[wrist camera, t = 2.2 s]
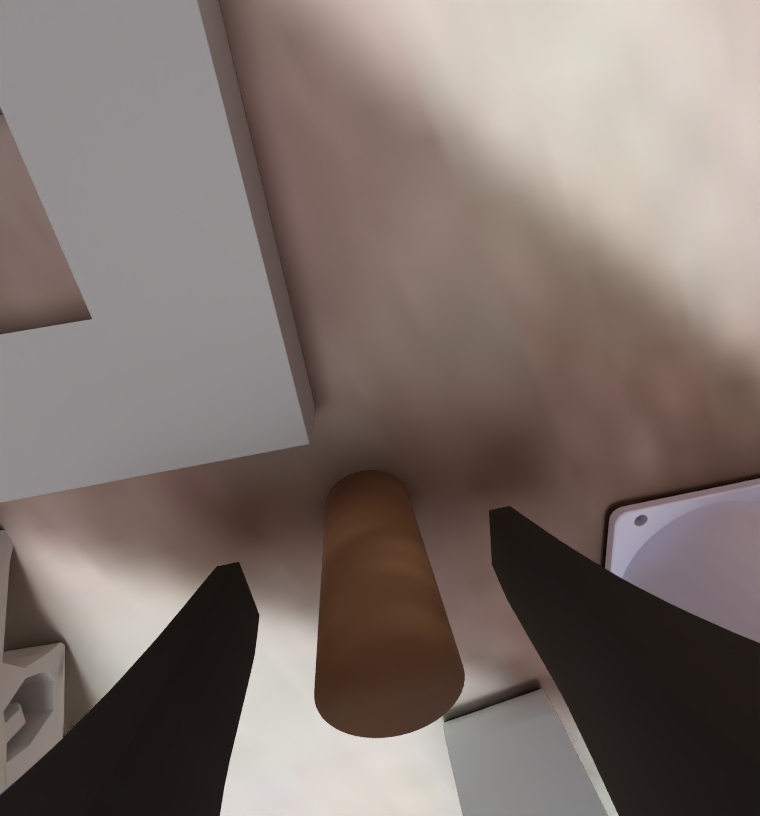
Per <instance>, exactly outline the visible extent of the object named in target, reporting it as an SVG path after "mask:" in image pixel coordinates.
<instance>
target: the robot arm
mask: <svg viewBox="0 0 760 816" xmlns="http://www.w3.org/2000/svg"><path fill="white" fill-rule="evenodd" d="M489 517H490V535H491V553H492V566H493V568H494V570H495V573H496V575H497V577H498V580H499V582H500V584H501V587H502V589H503V591H504V593H505V595H506V598H507V600H508V602H509V603H510V605H511V607H512V609H513V611H514V612H515V614H516V616H517V618H518V619H519V621H520V623H521V625H522V626H523V628H524V630H525V631H526V633H527V635H528V637H529V638H530V640H531V642H532V644H533V645H534V647H535V649H536V650H537V652H538V654H539V656H540V657H541V659H542V661H543V663H544V664H545V666H546V668H547V670H548V671H549V673H550V675H551V676H552V678H553V680H554V682H555V683H556V685H557V687H558V689H559V691H560V693H561V695H562V696H563V698H564V700H565V702H566V704H567V706H568V708H569V710H570V712H571V714H572V716H573V718H574V721H575V723H576V725H577V727H578V729H579V731H580V733H581V735H582V737H583V739H584V742H585V744H586V746H587V748H588V750H589V752H590V754H591V756H592V758H593V761H594V763H595V765H596V767H597V769H598V771H599V774H600V776H601V778H602V780H603V782H604V784H605V787H606V789H607V791H608V793H609V795H610V797H611V800H612V802H613V804H614V806H615V808H616V811H617V813H618V815H619V816H760V478H759V479H754V480H749V481H744V482H740V483H735V484H730V485H725V486H720V487H715V488H710V489H706V490H701V491H696V492H691V493H686V494H681V495H676V496H672V497H667V498H662V499H657V500H652V501H647V502H643V503H638V504H633V505H628V506H623V507H620V508H617V509H616V510H615V511H613V512H612V514H611V515H610V519H609V528H608V539H607V550H606V562H605V568H603V567H602V566H600V565H598V564H596V563H595V562H593V561H591V560H590V559H588V558H587V557H585V556H583V555H582V554H580V553H578V552H577V551H575V550H574V549H572V548H571V547H569V546H568V545H566V544H564V543H563V542H561V541H560V540H558V539H557V538H555V537H554V536H552V535H551V534H549V533H548V532H546V531H545V530H544V529H542V528H541V527H539V526H538V525H536V524H535V523H533V522H532V521H531V520H529V519H528V518H526V517H525V516H523V515H522V514H520V513H519V512H518V511H516V510H515V509H513V508H512V507H510V506H507V507H502V508H498V509H493V510H489ZM258 623H259V613H258V610H257V607H256V605H255V602H254V600H253V597H252V594H251V592H250V589H249V587H248V584H247V581H246V579H245V576H244V574H243V571H242V568H241V566H240V563H239V562H236V563H231V564H227V565H222V566H217V567H216V568H215V569H214V571H213V572H212V573H211V574H210V575H209V576H208V578H207V579H206V580H205V581H204V582H203V584H202V585H201V586H200V587H199V588H198V590H197V591H196V592H195V593H194V595H193V596H192V597H191V598H190V599H189V601H188V602H187V603H186V604H185V605H184V607H183V608H182V609H181V610H180V611H179V613H178V614H177V615H176V616H175V617H174V619H173V620H172V621H171V622H170V623H169V625H168V626H167V627H166V628H165V629H164V631H163V632H162V633H161V634H160V635H159V637H158V638H157V639H156V640H155V641H154V642H153V643H152V644H151V646H150V647H149V648H148V649H147V650H146V651H145V652H144V653H143V655H142V656H141V657H140V658H139V659H138V660H137V661H136V662H135V663H134V665H133V666H132V667H131V668H130V669H129V670H128V671H127V672H126V673H125V675H124V676H123V677H122V678H121V679H120V680H119V681H118V682H117V683H116V684H115V686H114V687H113V688H112V689H111V690H110V691H109V692H108V693H107V694H106V695H105V696H104V697H103V698H102V699H101V700H100V701H99V702H98V703H97V704H96V705H95V706H94V707H93V708H92V709H91V710H90V711H89V712H88V713H87V714H86V715H85V716H84V717H83V718H82V719H81V720H80V721H79V722H78V723H77V724H76V725H75V726H74V727H73V728H72V729H71V730H70V731H69V732H68V733H67V734H66V735H65V736H64V737H63V738H62V739H61V740H60V741H59V742H58V743H57V744H56V745H55V746H54V747H53V748H52V749H51V750H50V751H48V752H47V753H46V754H45V755H44V756H43V757H42V758H41V759H40V760H39V761H38V762H36V763H35V764H34V765H33V766H32V767H31V768H30V769H29V770H28V771H27V772H26V773H24V774H23V775H22V776H21V777H20V778H19V779H18V780H17V781H16V782H15V783H14V784H12V785H11V786H10V787H9V788H8V789H7V790H6V791H5V792H4V793H3V794H2V795H0V816H220V810H221V804H222V798H223V792H224V786H225V781H226V776H227V771H228V766H229V761H230V757H231V753H232V749H233V744H234V740H235V736H236V732H237V728H238V724H239V719H240V715H241V711H242V707H243V703H244V699H245V694H246V690H247V686H248V682H249V677H250V673H251V669H252V664H253V660H254V655H255V648H256V640H257V632H258Z"/></svg>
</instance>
